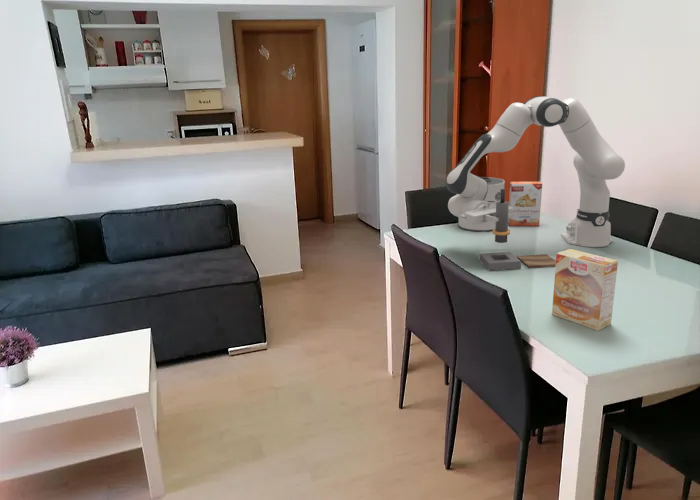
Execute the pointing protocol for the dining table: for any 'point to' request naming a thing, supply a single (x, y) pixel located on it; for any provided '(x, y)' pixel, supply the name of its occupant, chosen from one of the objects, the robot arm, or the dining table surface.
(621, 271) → the dining table surface
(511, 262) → the socket block
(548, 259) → the pad
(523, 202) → the cracker box
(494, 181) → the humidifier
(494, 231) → the plug
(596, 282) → the coffeecake box
